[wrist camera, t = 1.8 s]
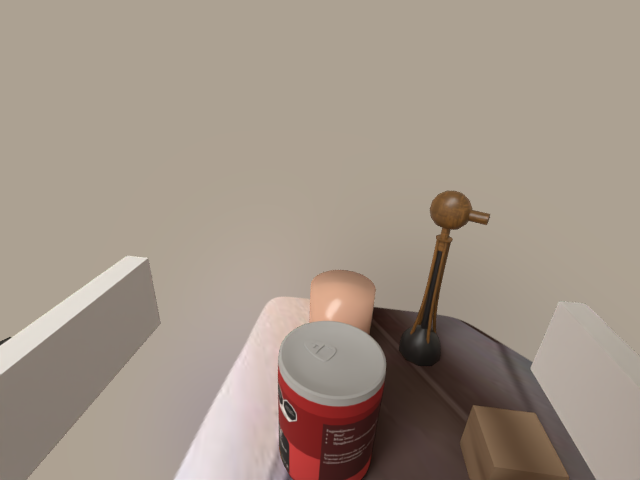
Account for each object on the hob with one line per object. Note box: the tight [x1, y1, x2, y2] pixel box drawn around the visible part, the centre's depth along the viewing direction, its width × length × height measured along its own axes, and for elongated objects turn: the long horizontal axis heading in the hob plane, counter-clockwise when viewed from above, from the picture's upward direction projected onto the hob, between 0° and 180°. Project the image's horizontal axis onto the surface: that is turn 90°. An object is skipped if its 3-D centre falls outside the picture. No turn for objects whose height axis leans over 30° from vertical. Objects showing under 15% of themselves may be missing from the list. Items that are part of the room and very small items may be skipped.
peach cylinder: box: [309, 270, 376, 335], centre depth 38 cm, size 7×7×9 cm
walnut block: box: [460, 405, 569, 480], centre depth 26 cm, size 5×5×5 cm
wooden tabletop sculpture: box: [399, 191, 490, 366], centre depth 36 cm, size 6×5×20 cm
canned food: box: [278, 321, 386, 480], centre depth 27 cm, size 8×8×11 cm
